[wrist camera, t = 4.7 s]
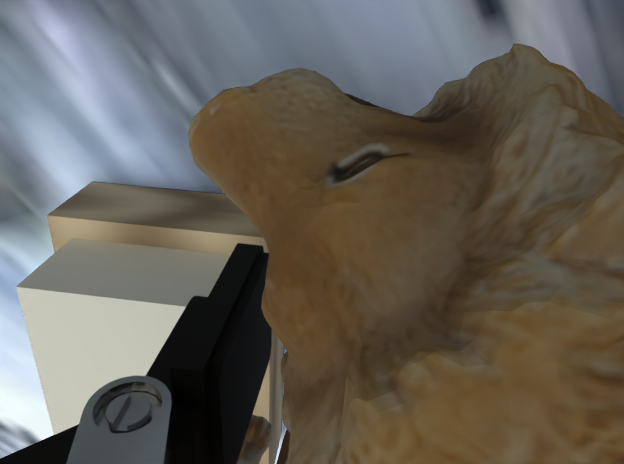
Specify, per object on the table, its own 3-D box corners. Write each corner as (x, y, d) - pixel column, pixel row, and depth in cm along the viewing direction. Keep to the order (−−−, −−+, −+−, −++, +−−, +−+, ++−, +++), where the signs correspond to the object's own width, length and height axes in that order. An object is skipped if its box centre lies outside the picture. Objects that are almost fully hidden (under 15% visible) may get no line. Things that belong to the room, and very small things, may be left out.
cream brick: (247, 256, 23) (221, 311, 19) (250, 474, 29) (231, 545, 26) (72, 237, 24) (15, 286, 20) (113, 454, 30) (76, 520, 26)
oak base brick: (287, 200, 26) (270, 238, 22) (281, 432, 33) (268, 489, 30) (92, 181, 27) (46, 215, 23) (129, 411, 34) (98, 463, 31)
